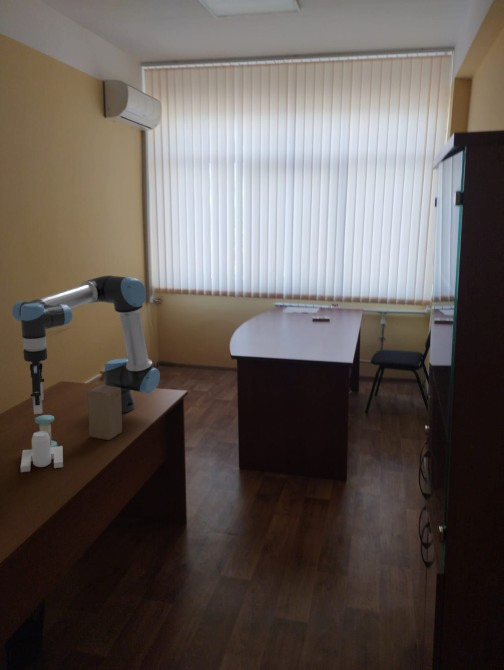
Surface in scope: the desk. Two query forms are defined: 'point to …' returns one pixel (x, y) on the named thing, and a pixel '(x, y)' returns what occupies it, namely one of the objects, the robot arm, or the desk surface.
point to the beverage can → (41, 449)
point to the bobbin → (46, 426)
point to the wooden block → (105, 412)
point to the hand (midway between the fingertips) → (38, 406)
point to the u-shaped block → (55, 454)
